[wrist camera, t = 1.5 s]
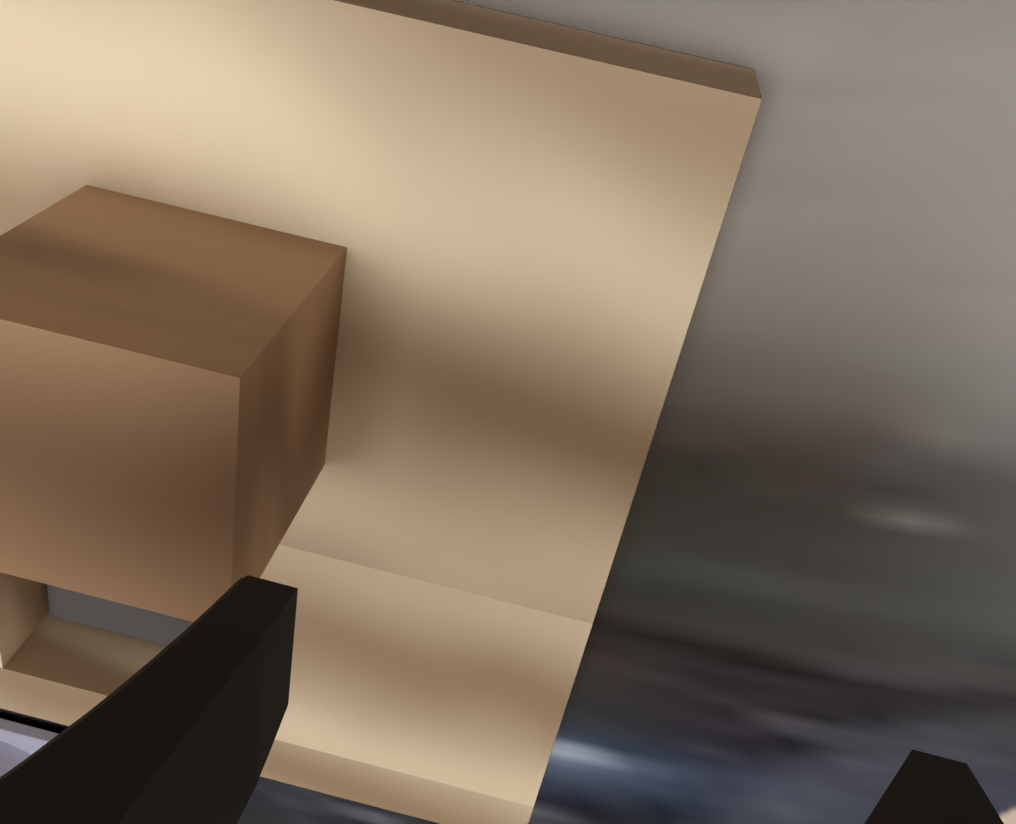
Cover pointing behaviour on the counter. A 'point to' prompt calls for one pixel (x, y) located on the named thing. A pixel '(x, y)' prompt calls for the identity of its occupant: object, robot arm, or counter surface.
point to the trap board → (404, 343)
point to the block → (159, 396)
